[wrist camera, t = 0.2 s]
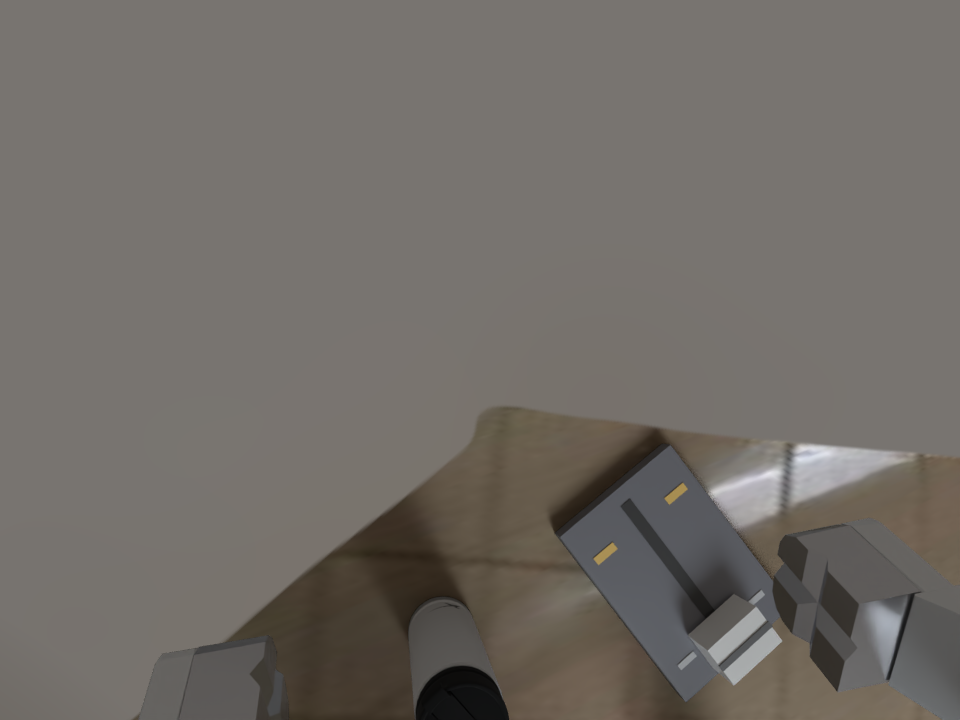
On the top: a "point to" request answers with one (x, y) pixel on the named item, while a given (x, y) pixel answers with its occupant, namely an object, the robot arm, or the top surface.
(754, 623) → the fader knob
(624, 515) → the fader panel
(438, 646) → the travel mug
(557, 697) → the top surface
